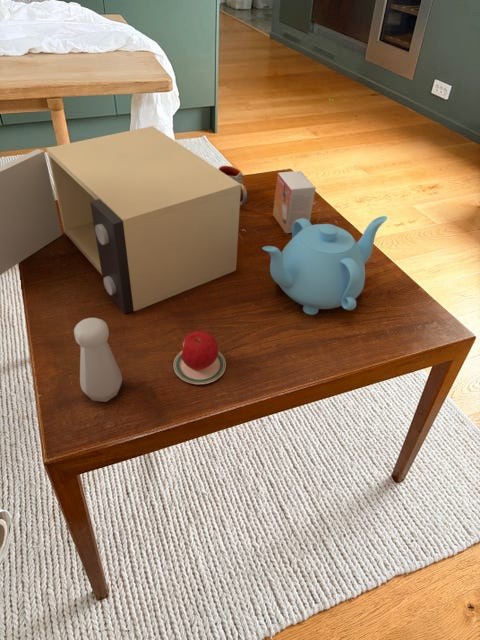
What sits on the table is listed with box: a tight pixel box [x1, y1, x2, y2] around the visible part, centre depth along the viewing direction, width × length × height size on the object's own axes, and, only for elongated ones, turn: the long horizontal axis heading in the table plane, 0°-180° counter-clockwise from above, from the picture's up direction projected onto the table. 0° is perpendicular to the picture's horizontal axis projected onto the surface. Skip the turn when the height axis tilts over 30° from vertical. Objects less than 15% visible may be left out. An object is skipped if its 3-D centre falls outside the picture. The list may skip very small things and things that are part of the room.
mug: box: [217, 165, 248, 208], centre depth 114 cm, size 12×7×7 cm, turn 25°
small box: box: [272, 170, 317, 234], centre depth 107 cm, size 8×6×10 cm
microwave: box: [46, 125, 241, 315], centre depth 93 cm, size 24×30×18 cm
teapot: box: [261, 215, 388, 316], centre depth 87 cm, size 16×20×14 cm
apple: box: [173, 330, 227, 385], centre depth 74 cm, size 8×8×6 cm
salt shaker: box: [73, 317, 123, 403], centre depth 68 cm, size 6×6×13 cm
